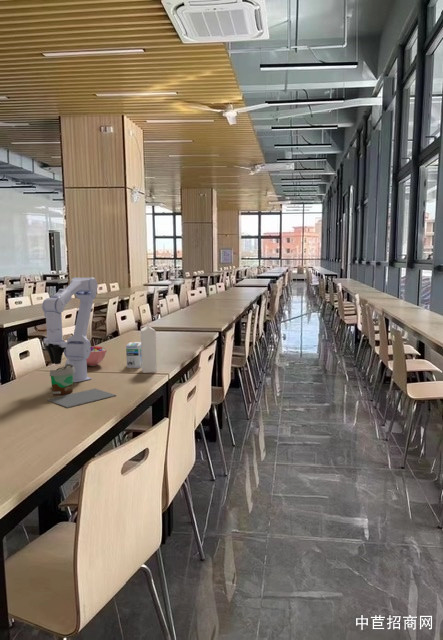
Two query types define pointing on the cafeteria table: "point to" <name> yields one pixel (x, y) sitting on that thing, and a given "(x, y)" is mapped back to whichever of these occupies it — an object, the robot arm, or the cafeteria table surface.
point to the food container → (62, 380)
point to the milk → (148, 349)
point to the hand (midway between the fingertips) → (56, 363)
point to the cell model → (96, 355)
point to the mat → (81, 398)
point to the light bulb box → (133, 355)
